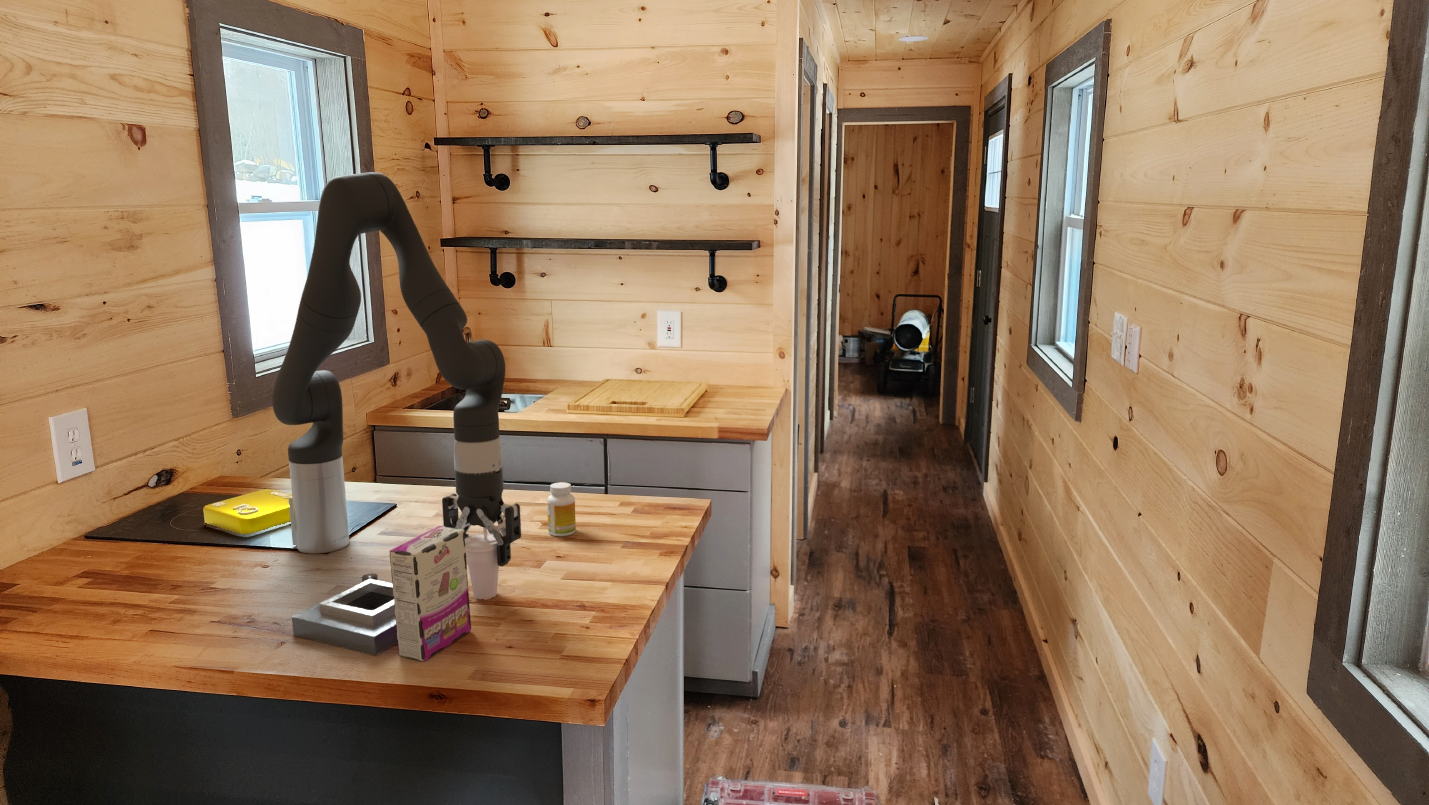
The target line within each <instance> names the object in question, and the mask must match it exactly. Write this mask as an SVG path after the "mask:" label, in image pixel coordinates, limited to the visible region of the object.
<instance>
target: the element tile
mask: <svg viewBox="0 0 1429 805" xmlns="http://www.w3.org/2000/svg"><path fill="white" fill-rule="evenodd" d="M291 497H292V494H289V493H285V492H280V491H277V490H273V489H268V488H265V489H260V490H256V491H253V492H249V493H245V494H242V495H239V496H235V497H231V498H228V499H223V500H221V501H220V500H219V501H217V502H213V503H209V504H207V505H204V507H203V509H202V510H203V517H204V518H203V519H204V524H205V523H207V524H210V525H213V526H217V527H220V528H222V529H225V530H229V531H232V532H236V533H239V534H251V533H254V532H258V531H261V530H265V529H268V528H270V527H273V526H277V525H281V524H285V523H287V522H291V520H290V509H289V498H291Z"/></svg>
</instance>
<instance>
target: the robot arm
mask: <svg viewBox="0 0 1429 805" xmlns="http://www.w3.org/2000/svg"><path fill="white" fill-rule="evenodd" d="M317 213H318V214H317V220H316V226H315V236H314V243H313V249H312V254H311V258H310V263H309V267H308V273H307V277H306V281H305V284H304V287H303V290H302V294H301V296H300V297H301V298H300V300H299V305H298V310H297V314H296V319H295V323H294V327H293V328H294V329H293V331H292V335H291V338H290V342H289V346H288V348H287V351H286V353H285V356H284V359H283V362H282V363H281V365H280V368H279V370H278V374H277V376H276V378H275V381H274V386H273V390H272V398H271V399H272V400H271V401H272V402H271V403H272V404H271V405H272V408H273V409H272V410H273V413H274V416H275V417H276V419H277V420H278V421H279V422H280V423H281V424H283V425H287V426H302V425H306V424H311V423H312V425H311V427H310V428H309V429H308V431H307V432H305V433H304V434H303V435H301V436H300V437H299V438H297V439H295V440H293V441H292V442H291V443H289V445H288V447H287V455H288V456H287V457H288V459H287V460H288V468H289V477H290V487H291V495H292V497H291V498H289V509H290V520H291V525H290V527H291V538H292V546H293V545H296V546H297V547H296V549H298V550H297V551H298V552H301V553H305V554H324V553H330V552H335V551H338V550H340V549H343V548H345V547H347V546H348V545H349V544H350V535H349V532H350V531H349V522H348V521H349V520H348V507H347V506H348V505H347V495H346V482H345V472H344V462H343V458H344V457H343V444H344V420H343V419H344V417H343V414H344V410H343V406H344V404H343V394H342V388H341V384H340V382H339V380H338V378H337V377H336V375H335V374H334V373H333V372H331V371H330V370H326V369H325V370H324V369H323V370H318V368H319V367H320V366H321V364H323V363H324V362H325V361H326V360H327V359H328V358H330V356H331V355H332V354H333V353H334V352H336V350H338V349H339V348H340V347H341V346H342V345H343V343H345V342H346V340H347V339H348V337H349V336H350V335H351V333H352V332H353V329H354V326H355V323H356V320H357V318H358V314H359V311H360V307H361V302H362V293H361V289H360V285H359V283H358V281H357V278H356V276H355V275H354V272H353V270H352V267H351V262H350V261H351V256H352V250H353V248H354V245H355V242H356V240H357V238H358V236H359V235H361V234H363V235H364V234H367V233H373V232H378V231H379V232H381V233H382V234H383V236H384V237H385V238H386V239H387V240H388V242H389V243H390V244H391V247H392V248H393V250H394V252H395V256H396V258H397V264H398V279H399V288H400V293H401V296H402V299H403V301H404V302H405V305H406V306H407V308H408V310H409V311H410V313H411V314H412V316H413V318H414V319H415V320H416V322H417V324H419V327H420V329H422V330H423V332H424V333H425V335H426V338H427V342H428V344H429V348H430V350H431V353H432V357H433V358H434V362H435V364H436V367H437V369H438V372H439V373H440V375H441V377H442V378H443V379H444V380H445V382H447V383H448V384H449V385H450V386H452V387H454V388H455V389H459V390H465V391H466V392H465V395H464V398H463V399H462V400H460V401H459V402H458V403H457V404H456V405H455V406H454V408H453V416H452V418H453V434H454V435H453V436H454V448H453V461H454V462H453V463H454V481H455V493H452V494H449V495H447V496H444V497H443V498H442V499H441V503H442V504H441V506H442V520H443V524H442V526H446V527H452V528H457V529H463V530H464V535H465V538H467V537H469V536H470V535H469V533H468V531H469V530H470V528H471V527H472V526H479V527H480V528H483V527H485V528H487V532H488V534H492V535H493V536H494V538H495V539H496V541H497V543H498V545H497V564H498V566H499V567H504V566H507V564H509V562H510V561H511V560H512V559H511V558H512V553H511V552H512V550H511V544H512V543H513V542H515V541H517V540H519V539H521V538H522V527H521V526H522V524H521V521H522V520H521V506H520V504H519V503H513V504H506V503H505V502H504V500H503V497H502V496H503V492H504V471H503V470H504V469H503V468H504V467H503V465H504V464H503V451H502V450H503V449H502V444H501V438H500V421H499V420H500V419H499V416H500V415H499V409H500V404H501V401H502V395H503V390H504V385H505V379H506V360H505V356H504V354H503V352H502V350H501V348H500V346H498V344H497V343H495V342H494V341H492V340H489V339H478V340H472V341H468V342H467V341H466V339H465V337H464V335H463V333H462V331H463V330H464V328H465V327H466V325H467V323H468V316H467V314H466V312H465V310H464V308H463V307H462V305H461V304H460V302H459V301H458V299H457V298H456V296H455V295H454V294H453V292H452V291H451V289H450V288H449V285H448V284H447V283H446V282H445V280H444V279H443V277H442V275H441V274H440V272H439V271H438V269H437V267H436V266H435V264H434V262H433V260H432V257H431V256H430V254H429V251H428V249H427V247H426V245H425V243H424V241H423V238H422V236H421V233H420V232H419V230H418V227H417V225H416V223H415V221H414V219H413V217H412V214H411V212H410V211H409V208H408V206H407V203H406V201H405V200H404V198H403V196H402V194H401V192H400V191H399V189H398V187H397V186H396V184H395V183H394V181H393V180H392V179H391V178H390V177H388V176H387V175H386V174H383V173H381V172H373V171H372V172H362V173H354V174H353V173H352V174H344V175H338V176H335V177H333V178H331V179H329V180H328V181H327V182H326V184H325V185H324V187H323V190H322V191H321V196H320V199H319V205H318V211H317ZM459 510H460V512H461V514H460V515H459ZM495 523H497V525H495Z"/></svg>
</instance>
